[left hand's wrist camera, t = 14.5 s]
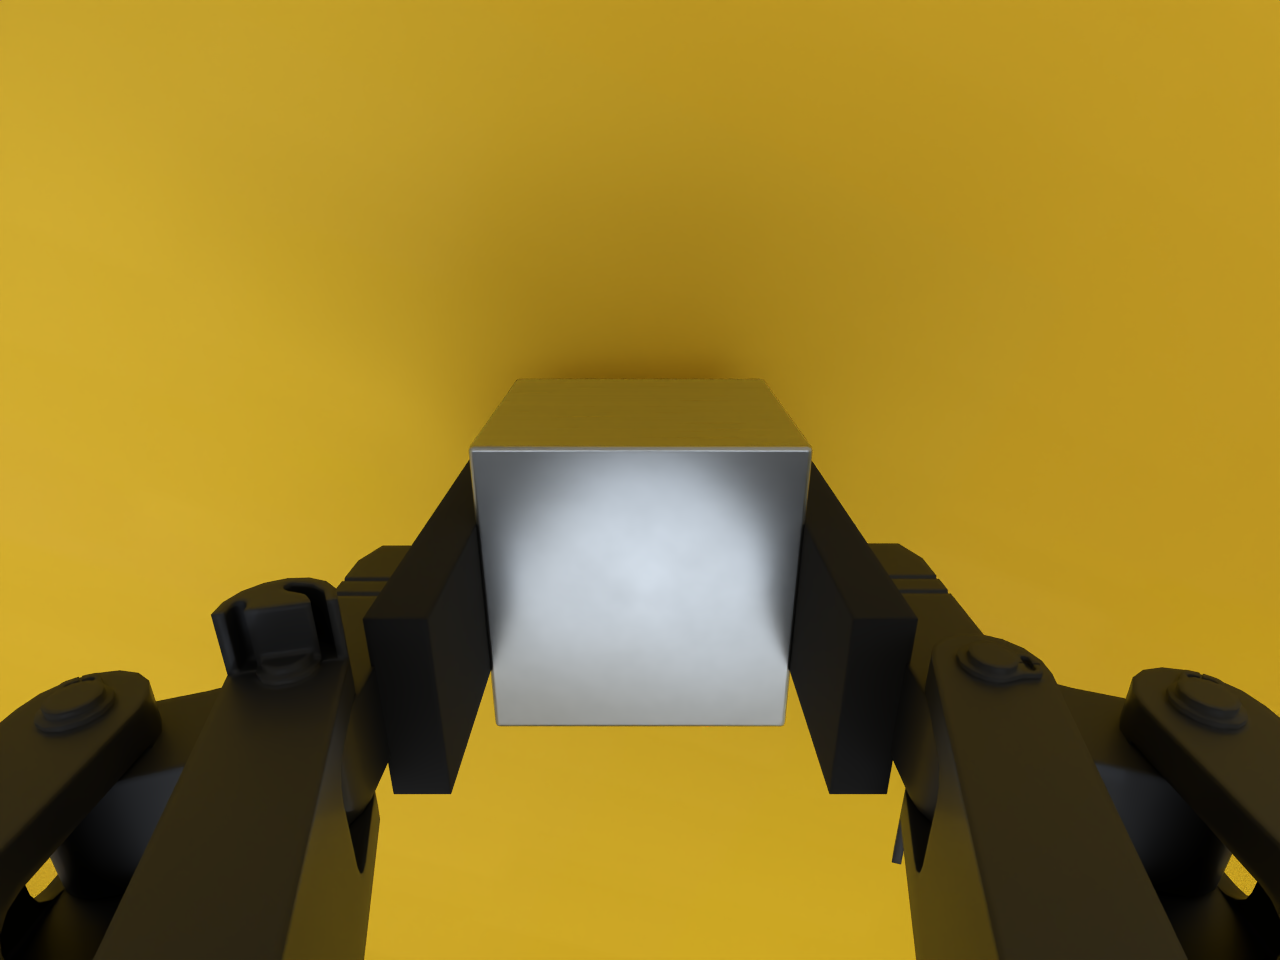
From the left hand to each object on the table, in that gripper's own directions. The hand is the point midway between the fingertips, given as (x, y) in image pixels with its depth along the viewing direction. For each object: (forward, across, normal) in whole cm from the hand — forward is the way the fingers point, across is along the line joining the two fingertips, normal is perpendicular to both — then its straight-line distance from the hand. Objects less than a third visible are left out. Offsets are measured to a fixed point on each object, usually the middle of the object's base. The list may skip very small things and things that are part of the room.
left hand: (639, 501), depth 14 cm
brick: (0, 0, 0) cm, 0 cm away
